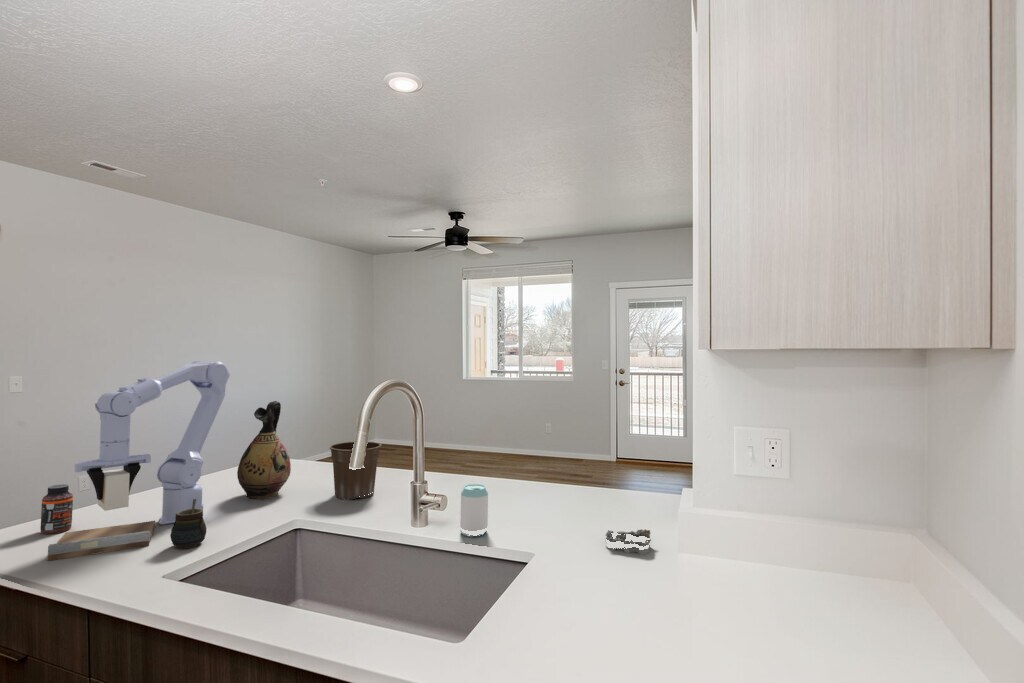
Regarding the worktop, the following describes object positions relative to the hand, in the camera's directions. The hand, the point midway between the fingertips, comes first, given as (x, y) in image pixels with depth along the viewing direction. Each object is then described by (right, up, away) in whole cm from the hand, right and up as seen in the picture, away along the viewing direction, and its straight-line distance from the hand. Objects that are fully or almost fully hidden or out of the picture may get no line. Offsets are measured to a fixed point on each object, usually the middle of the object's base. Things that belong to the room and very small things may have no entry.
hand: (113, 496), depth 123 cm
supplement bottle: (-19, -11, +5) cm, 22 cm away
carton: (0, -2, 0) cm, 2 cm away
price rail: (+3, -9, -8) cm, 12 cm away
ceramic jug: (+17, -12, +40) cm, 45 cm away
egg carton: (+126, -13, 0) cm, 126 cm away
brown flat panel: (-1, -10, -1) cm, 10 cm away
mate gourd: (+20, -11, -3) cm, 23 cm away
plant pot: (+46, -12, +41) cm, 63 cm away
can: (+87, -12, +8) cm, 89 cm away
